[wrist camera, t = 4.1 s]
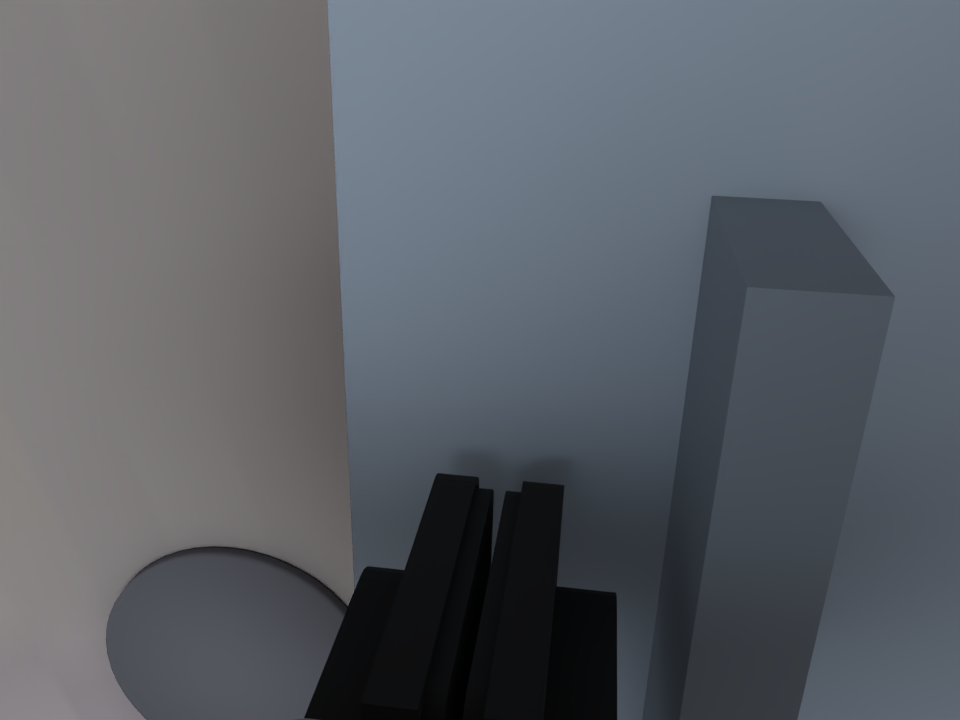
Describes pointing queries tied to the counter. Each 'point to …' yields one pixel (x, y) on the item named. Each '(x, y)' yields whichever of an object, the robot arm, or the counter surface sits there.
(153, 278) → the counter surface
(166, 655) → the coaster
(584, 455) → the lid
